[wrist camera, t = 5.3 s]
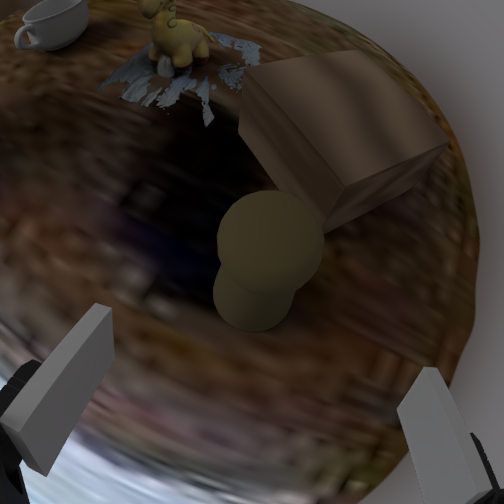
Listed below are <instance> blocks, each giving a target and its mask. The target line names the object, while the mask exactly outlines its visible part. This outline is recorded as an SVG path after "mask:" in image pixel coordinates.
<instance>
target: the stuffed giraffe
mask: <svg viewBox="0 0 504 504" xmlns="http://www.w3.org/2000/svg"><path fill="white" fill-rule="evenodd" d="M176 3H177V0H140V3H139V6H140V7H139V9H140V12H141V13H142V14H143V16H144V17H146V18H149V19H151V18H153V17H154V21H153V26H152V29H151V39H152V43H150V44H149V45H147V46H146V47H144V48H143V49H141V50H140V51H139V52H138V53H136V54H135V55H134V56H132V57H131V58H130V59H129V60H128V61H127V62H125V63H124V64H122V65H121V66H120V67H119V68H118V69H117V70H116V71H115V72H113V73H112V74H111V75H110V77H109V78H107V79H106V80H105V81H104V82H103V84H101V85H100V86H99V87H98V88H97V89H96V90H99V89H100V91H103V90H104V88H103V86H106V85H108V84H110V83H113V82H116V81H118V80H120V83H122V82H124V81H126V80H127V82H128V83H129V84H128V85H127V86H126V87H125V89H124V90H122V93H121V96H120V97H121V98H123V99H124V100H127V101H130V102H137V100H138V101H140V98H141V97H143V96H144V95H146V93H147V91H148V90H146V89H147V88H146V87H147V85H150V83H147V81H148V80H149V79H151V78H152V77H153V75H155V74H154V73H156V74H158V75H160V76H162V77H165V78H170V79H171V83H170V85H169V87H168V88H166V89H165V93H163V95H162V96H158V99H156V100H158V101H159V103H158V104H157V106H158V105H162V106H161V107H164V106H169V105H171V104H174V103H175V102H176V101H175V100H178V99H179V98H177V97H178V96H179V94H180V91H182V93H183V91H184V90H187V89H191V88H193V87H195V86H196V82H197V81H196V80H197V79H192V80H191V79H190V78H188V77H189V76H190V73H192V67H197V66H203V65H206V64H207V61H208V58H209V48H208V45H207V41H206V40H205V36H207V37H208V38H209V40H210V42H214V39H213V38H212V36H215V37H218V38H217V39H219V42H221V43H220V44H223V45H221V46H224V45H225V47H231V46H230V44H228V43H232V42H231V41H230V40H233V41H235V39H236V38H233V37H230V36H227V35H224V34H218V33H213V32H209V33H211V34H210V35H209V33H208V32H207V31H206V29H205V28H203V27H201V26H200V25H197V24H195V23H193V22H190V21H187V20H176V19H175V11H176V9H175V8H176ZM239 40H240V41H239ZM243 42H244V43H245V44H244V45H242V44H243ZM227 45H229V46H227ZM238 45H239V46H243V48H239V47H237V46H238ZM234 46H235V47H234V49H235V50H240V49H243V50H244V53H243V54H242V55H243V57H242V58H245V59H246V62H245V63H246V66H248V65H247V64H248V63H250V64H251V66H256V65H260V63H259V62H258V60H259V59H260V57H259V53H258V51H259V48H262V47H260V45H257V44H255V43H253V42H251V41H247V40H241V39H236V43H235V45H234ZM220 48H222V47H220ZM223 49H224V48H223ZM243 50H241V51H243ZM237 52H238V51H237ZM226 53H227V52H226ZM223 64H225V63H223ZM237 64H238V65H239V64H240V63H237ZM228 65H232V64H227V65H224V66H228ZM224 66H222V67H224ZM230 67H232V66H230ZM230 67H224V68H222V69H218V70H217V71H220V70H222V71H220V73H222V74H220V73H218V75H219V76H220V78H221V80H222V79H224V81H225V83H227V84H228V82H229V83H230V84H228V86H234V88H237V87H236V86H235V84H233V83H235V82H236V83H238V80H237V78H238V79H239V77H242V76H241V75H243V71H244V68H247V67H241V68H239V69H243V70H241V71H237V72H236V70H238V69H234V70H230V71H233V72H230V73H229V74H228V73H227V71H226V70H224V69H227V68H230ZM233 67H237V66H233ZM249 67H250V66H249ZM219 68H221V67H219ZM178 73H180V74H179V75H178V76H177V77H176V78H174V77H175V76H176V75H177V74H178ZM224 73H225V74H224ZM230 74H231V75H230ZM226 76H227V77H226ZM229 76H230V78H229ZM208 77H209V76H206V77H205V76H204V80H203V81H202V82H201V83H200V84H199V85H198V87H197V89H196V91H195V92H197V93H198V94H197V95H198V96H201V97H202V100H204V101H205V104H206V105H203V102H202V105H203V106H204V109H203V112H205V113H203V119H204V122H205V126H206V127H207V126H208V124H209V123H210V122H211V121H212V120H213V119H214V115H212V112H211V111H210V107H209V106H208V105H207V104H208V101H209V99H208V97H209V90H208V88H209V86H208V85H209V83H208V82H207V79H208ZM222 77H223V78H222ZM227 79H228V80H227ZM239 80H241V81H242V79H241V78H240V79H239ZM222 83H223V81H222ZM242 84H243V82H241V85H242ZM237 85H238V90H239V89H241V88H242V87H241V86H240V84H237ZM184 86H185V87H184ZM183 87H184V88H185V89H184V90H182V88H183ZM211 87H212V89H213V90H214V89H215V88H216V84H212V85H211ZM162 88H163V87H161V88H160V89H158V91H155V93H154V92H152V91H151V92H152V93H150V94H149V95H148V97H147V98H146V100H145V101H143V102H142V104H141V105H142V106H147V107H148V106H149V105H148V104H149V103H151V102H152V100H153V99H155V98H156V96H157V93H159V92H160V91H161V89H162ZM230 88H231V89H233V87H230ZM96 90H95V91H96ZM145 90H146V91H145ZM237 92H238V91H237ZM237 92H236V93H237ZM120 97H118V98H120ZM159 98H161V99H159ZM173 101H175V102H173ZM160 102H161V103H160ZM143 103H144V104H143ZM136 104H137V103H136ZM164 104H165V105H164ZM161 107H159V108H161ZM207 108H208V109H207ZM164 109H165V108H164ZM167 114H168V113H167Z"/></svg>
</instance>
